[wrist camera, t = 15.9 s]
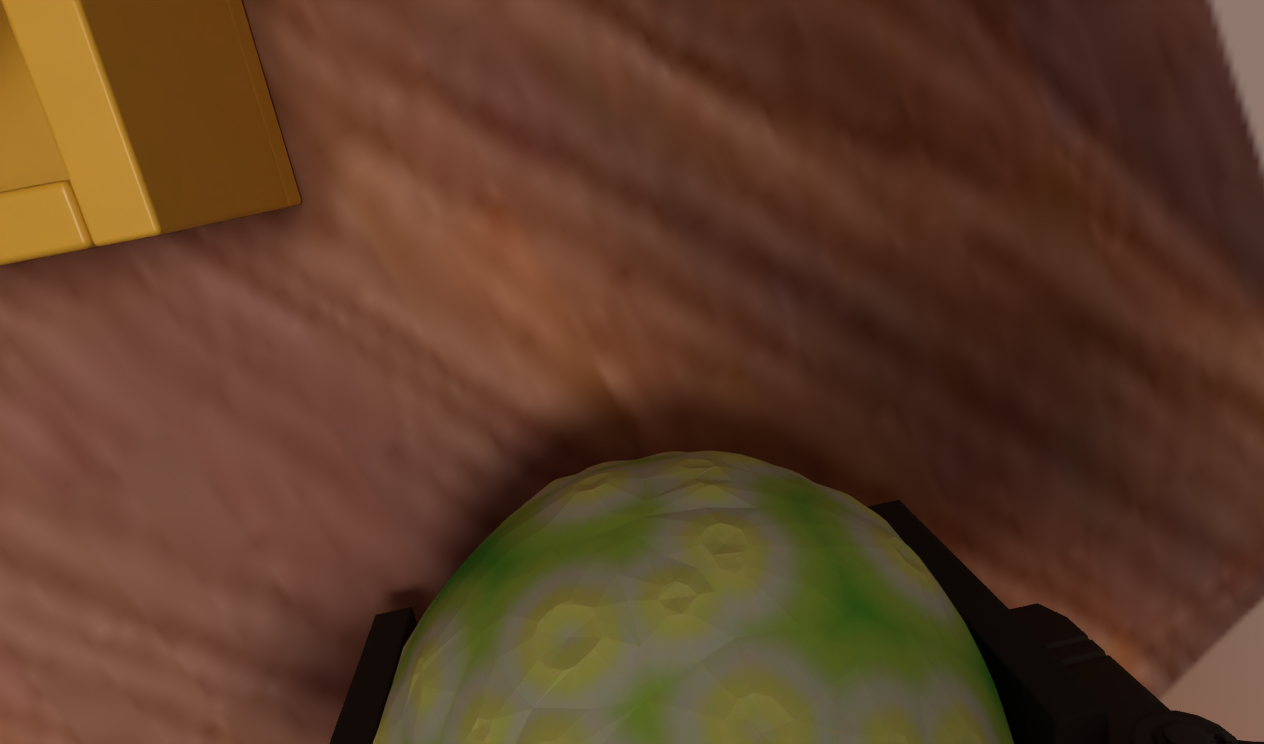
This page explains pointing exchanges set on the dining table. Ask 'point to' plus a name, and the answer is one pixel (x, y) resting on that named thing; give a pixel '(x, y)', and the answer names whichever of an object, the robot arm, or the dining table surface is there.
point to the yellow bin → (131, 123)
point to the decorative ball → (692, 621)
